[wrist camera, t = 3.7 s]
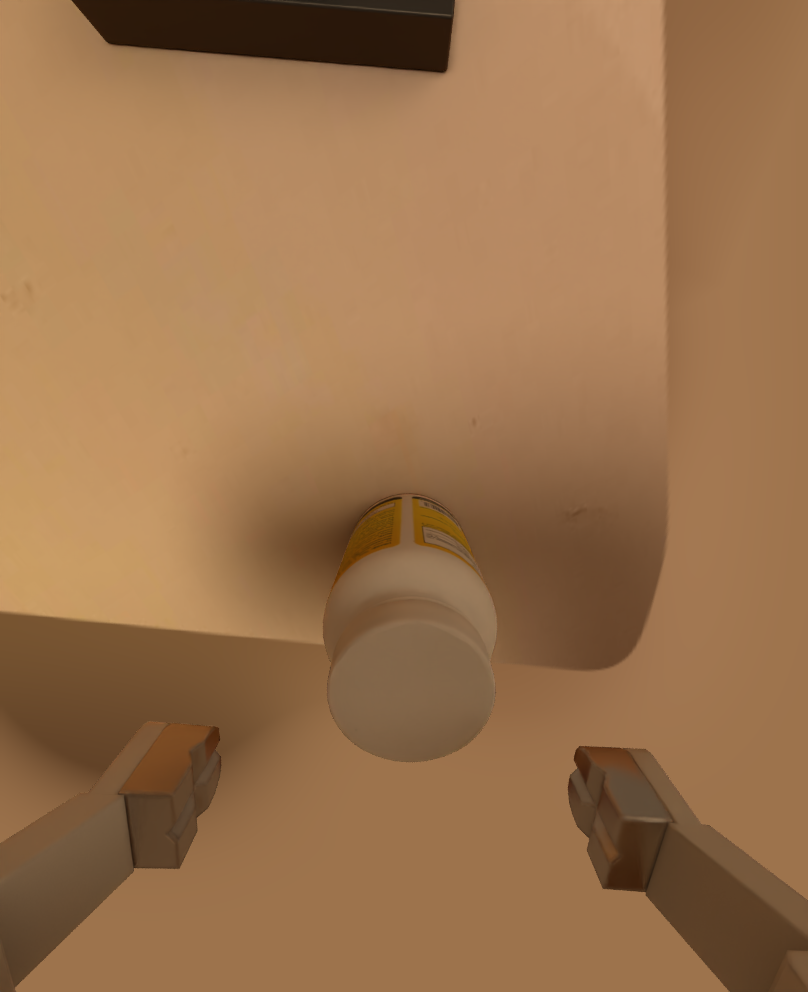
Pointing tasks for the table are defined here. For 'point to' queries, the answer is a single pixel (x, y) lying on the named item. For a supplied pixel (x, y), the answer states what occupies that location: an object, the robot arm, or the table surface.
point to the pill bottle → (409, 634)
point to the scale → (286, 28)
